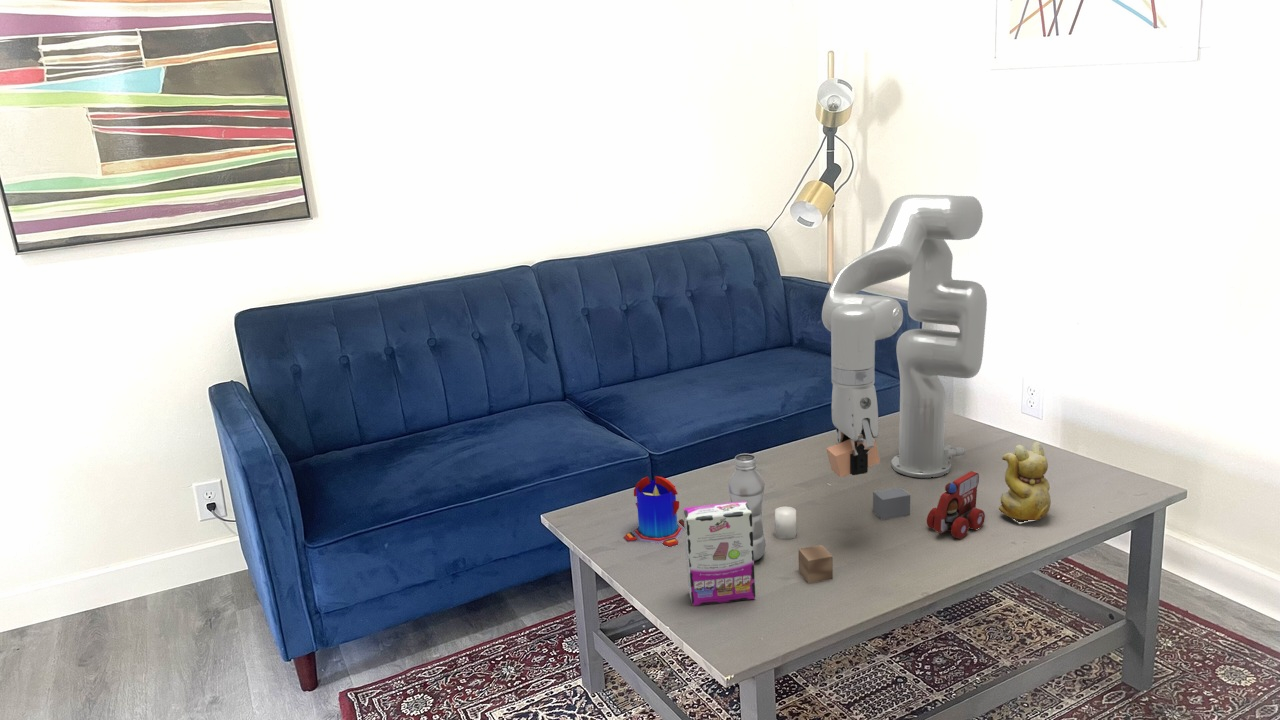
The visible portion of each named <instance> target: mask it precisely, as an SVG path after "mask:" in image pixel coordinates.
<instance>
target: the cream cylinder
mask: <svg viewBox="0 0 1280 720" xmlns="http://www.w3.org/2000/svg"><path fill="white" fill-rule="evenodd" d="M774 521H775V522H774V524H775V525H774V527H775V528H774V530H775V537H777V539H780V540H792V539H795V538H796V537H797V510H796V509H795V508H794V507H791V506H780V507H777V508H775V509H774Z"/></svg>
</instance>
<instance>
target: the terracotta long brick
mask: <svg viewBox="0 0 1280 720" xmlns="http://www.w3.org/2000/svg"><path fill="white" fill-rule="evenodd" d="M861 436H862V434H860V435H858V437H861ZM873 442H874V447H873V448H871V449H870V450H869V454H868V468H869V467H871V466H874V465H878V464H880V463H881V459H880V455H879V450H878V446H877V445H878V444H877V441H876V440H875V438H873ZM862 443H863V441H859V442H857V447H858V446H859V444H862ZM826 453H827V458H828V462H829V466H830V470H832V472H833V473H834V474H836V475H837V476H838V477H840V479H842V478H844V477H847V476H849V475H852V474H851V473H850V454H853V453H852V443H851V439H849V440H846V441H844V442H841V443H836V444H834V445H831V446H829V447H826Z"/></svg>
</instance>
